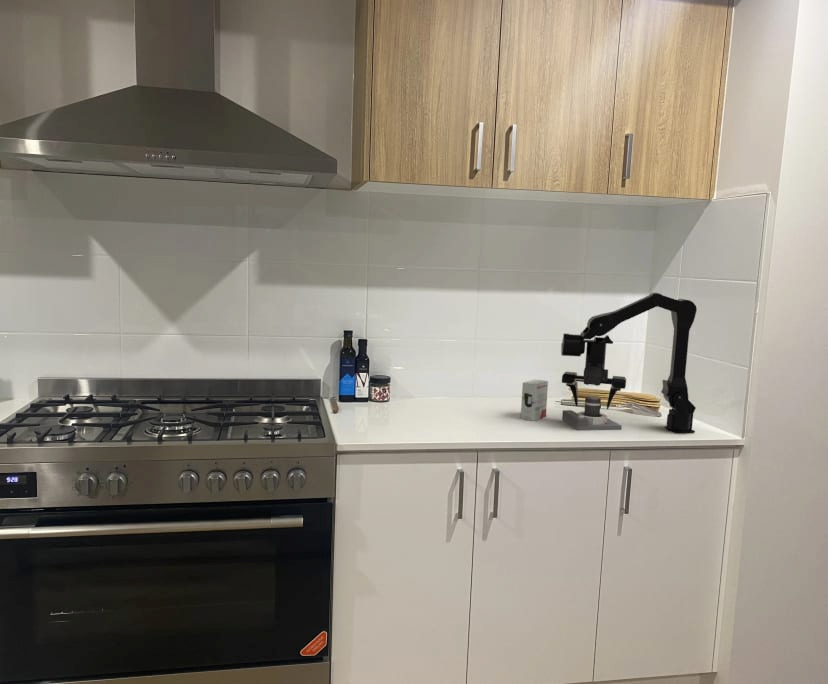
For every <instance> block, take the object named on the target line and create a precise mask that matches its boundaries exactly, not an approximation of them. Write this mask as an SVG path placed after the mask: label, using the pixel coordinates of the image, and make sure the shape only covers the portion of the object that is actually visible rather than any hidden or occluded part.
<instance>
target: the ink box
mask: <svg viewBox="0 0 828 684" xmlns="http://www.w3.org/2000/svg"><path fill="white" fill-rule="evenodd" d="M548 386H549V381H548V380H543V379H536V378H535V379H532V380H528V381H527V380H526V381H524V382H522V390H521V408H520V419H523V420H526V421H532V422H533V421H537V420H539V419H543V418H545V417H546V416H547V408H548V407H547V404H548Z"/></svg>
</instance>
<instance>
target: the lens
mask: <svg viewBox="0 0 828 684" xmlns="http://www.w3.org/2000/svg"><path fill="white" fill-rule="evenodd" d="M584 399H585V400H584V410H583V411H584V416H589V417H600V413H601V404H602V403H601V400H602V399H601V398H599V397H594V396H593V397H592V396H587V397H586V396H585V398H584Z"/></svg>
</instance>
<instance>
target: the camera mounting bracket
mask: <svg viewBox="0 0 828 684" xmlns="http://www.w3.org/2000/svg"><path fill="white" fill-rule="evenodd" d="M561 414H562V416H561V417H562V418H561V421H563V422H564V423H566V424H568V425H569V426H571V427H572V428H574V429H576V430H577V431H602V430H603V431H605V430H606V431H611V430H613V431H614V430H622V428H623V427H622V425H621V424H620V423H617V422H616V421H613V420H612V419H610V418H608V415H606V414H604V413H602V412H600V417H589V416H584V410H583V411H579V412H576V411H574V410H571V409H570V410H569V409H568V410H567V409H564V410H563V409H562V413H561Z"/></svg>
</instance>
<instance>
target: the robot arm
mask: <svg viewBox="0 0 828 684" xmlns="http://www.w3.org/2000/svg"><path fill="white" fill-rule="evenodd" d="M658 307H659V308H660V309H661V308H662V309H664V310H667V311H670V314H671V320H672V321H671V322H672V326H673V336H672V345H671V346H672V347H671V348H672V349H671V358H670V359H671V360H670V371H669V375H668V378H667V380H666V379H662V390H661V392H660V393H662V395H663V398H664V400H665V401H666V402H667V403H668V404H669V407H670V408H669V409H668V413H667V418H666V425H664V428H665V429H667V430H669V431H671V432H673V433H677V434H683V433H685V434H687V433H696V430H694V429H693V421H694V413H695V410H696V406H695V405H694V404H693V403H692V402H691V401H690V400H689V387H688V385H687V381H686V380H687V379H686V371H687V362H688V361H687V359H688V350H689V349H688V347H689V340H690V339H689V338H690V331H691V328H692V326H693V323H694V322H695V318H696V314H697V309H698V308H697V305H696V304H695V303H694V301H692V300H690V299H689V300H688V299H684V298H678V299H675V298H672V297H669V296H666V295H663V294H661V293H659V292H652V293H650V294H648V295H646V296H645V297H642V298H640V299H638V300H636V301H634V302H631V303H629V304H626V305H624V306H623V307H621V308H618V309H616V310H613V311H609V312H605V313H600V314H597V315H594V316H591V317H590V318H589V319H588V320H587V323H586V327H585V328H584V329H583V330H582V331H581V332H580V334H574V333H573V334H572V333H563V335H562V342H561V346H560V354H561V357H562V356H563V357H564V356H565V357H580V358H581V356H582V355H583V354H585V366H584V369H583V375H578V372H575V371H565V372H564V373H563V374H561V375H562V376H561V383H563V384H565V385H566V387H569V388H570V391H571V393H572V395H573V397H572V398H573V400H574V404H575V406H576V407H577V406H578V405H579V391H578V389H579V388H578V387H579V385H578V382H580V383H581V382H582V383H583V384H584V385H586V386H590V385H591V386H600V385H601V384H602V385H603V384H604V385H610V388H609V389H610V390H609V393H608V394H609V395H608V398H607V402H606V410H609V408H610V406H611V403H612V401H613V398H614V396H615V395H616V393H617V392H621V390H622V389H623V390H624V389H626V387H627V378H626V377H625V376H620V375H619V376H618V375H612V378H611V377H609V369H605V366H606V365H605V364H606V352H607V344H609V345H612V344H614V341H613V340H612V339H611V338H610V336H609V335H608V334H607V333H609V332H611V331H612V330H614V329H615V328H616V327H617V326H619V325H620V324H621V323H623V322H626V321H628V320H630V319H632V318H634V317H636V316H638V315H641V314H642V313H646V312H648V311H650V310H652V309H654V308H658ZM606 334H607V335H606ZM604 335H605V336H604ZM602 336H604V337H602ZM585 351H586V353H585Z"/></svg>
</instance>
